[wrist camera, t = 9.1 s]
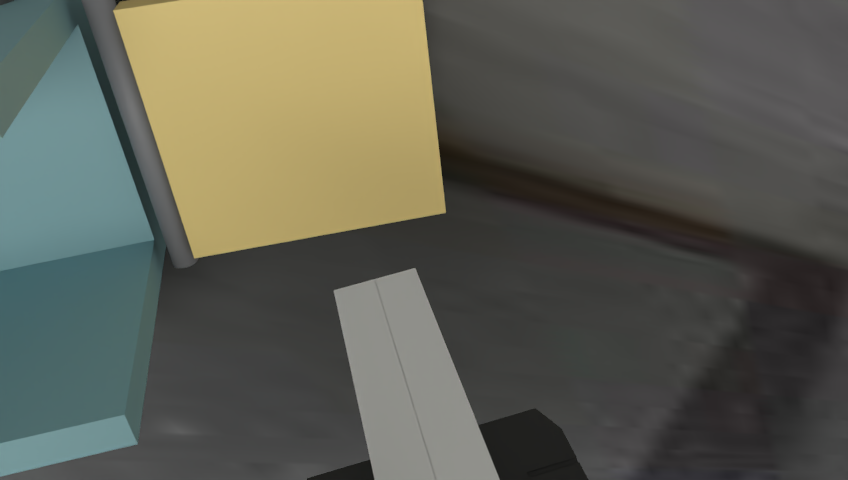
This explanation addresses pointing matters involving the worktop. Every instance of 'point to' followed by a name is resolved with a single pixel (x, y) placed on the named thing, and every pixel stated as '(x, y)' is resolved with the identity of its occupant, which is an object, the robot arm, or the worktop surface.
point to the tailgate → (273, 116)
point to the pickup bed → (69, 246)
